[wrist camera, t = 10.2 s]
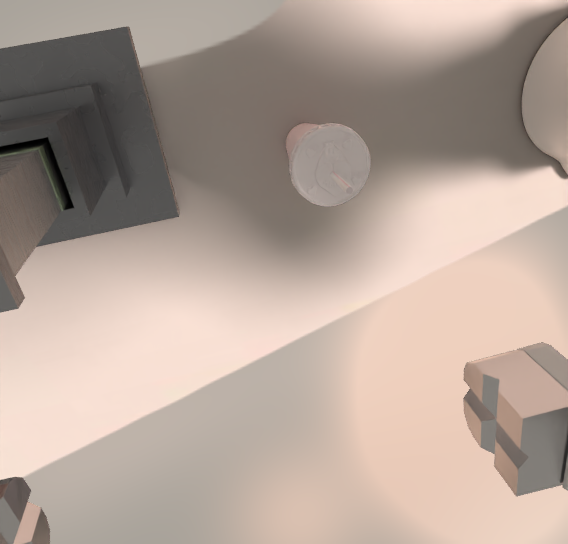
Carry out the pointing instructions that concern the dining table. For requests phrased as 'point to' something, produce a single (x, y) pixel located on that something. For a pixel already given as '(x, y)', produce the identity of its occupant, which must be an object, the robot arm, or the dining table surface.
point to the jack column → (26, 208)
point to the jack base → (89, 129)
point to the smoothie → (327, 162)
